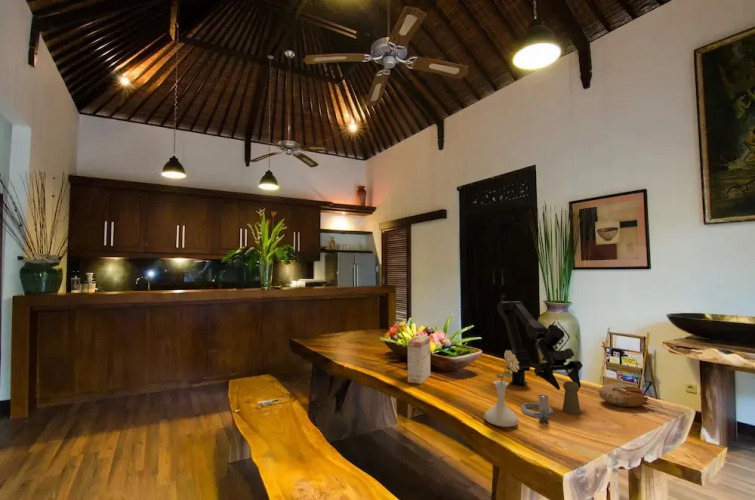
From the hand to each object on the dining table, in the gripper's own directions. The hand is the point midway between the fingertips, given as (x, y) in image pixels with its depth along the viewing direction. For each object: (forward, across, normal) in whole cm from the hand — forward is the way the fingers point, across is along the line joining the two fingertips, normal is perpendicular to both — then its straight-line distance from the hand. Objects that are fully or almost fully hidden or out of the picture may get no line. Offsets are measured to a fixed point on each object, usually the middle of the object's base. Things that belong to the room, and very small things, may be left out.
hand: (569, 388), depth 138 cm
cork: (+7, 0, +6) cm, 9 cm away
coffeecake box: (-29, -42, +41) cm, 66 cm away
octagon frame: (+6, -14, +6) cm, 16 cm away
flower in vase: (+9, -31, +4) cm, 32 cm away
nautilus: (+7, +26, +5) cm, 28 cm away
